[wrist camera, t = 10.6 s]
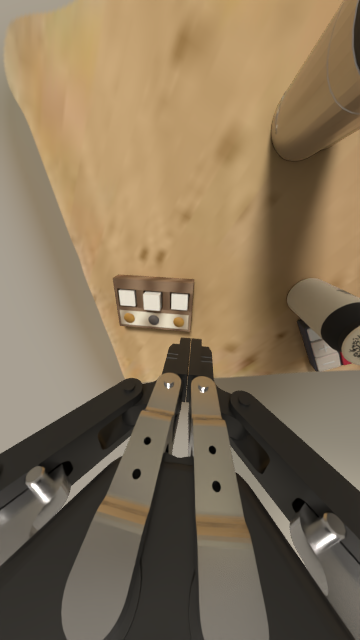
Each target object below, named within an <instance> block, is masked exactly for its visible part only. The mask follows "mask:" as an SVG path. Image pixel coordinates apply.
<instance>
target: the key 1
mask: <svg viewBox="0 0 360 640" xmlns="http://www.w3.org/2000/svg"><path fill="white" fill-rule="evenodd" d="M119 298H120V305H124V306H136V305H137V296H136V290H132V289H120V290H119Z"/></svg>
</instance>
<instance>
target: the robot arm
mask: <svg viewBox="0 0 360 640" xmlns="http://www.w3.org/2000/svg"><path fill="white" fill-rule="evenodd" d="M359 129H360V0H344V1H343V2H342V4H341V5H340V7H339V8H338V10H337V12H336V13H335V15H334V16H333V18H332V19H331V21H330V23H329V24H328V26H327V27H326V29H325V31H324V32H323V34H322V35H321V37H320V38H319V40H318V42H317V43H316V45H315V46H314V48H313V50H312V51H311V53H310V54H309V56H308V57H307V59H306V61H305V62H304V64H303V65H302V67H301V69H300V70H299V72H298V73H297V75H296V76H295V78H294V80H293V81H292V83H291V84H290V86H289V88H288V89H287V91H286V92H285V93H284V95H283V97H282V99H281V101H280V102H279V104H278V106H277V109H276V111H275V114H274V118H273V121H272V129H271V132H272V141H273V146H274V148H275V150H276V152H277V153H278V154H279V155H280V156H281V157H282V158H284V159H286V160H289V161H299V160H303V159H306V158H308V157H310V156H312V155H313V154H315V153H316V152H318V151H320V150H321V149H327V148H329V147H331V146H332V145H334V144H336V143H337V142H339V141H341V140H342V139H344V138H346V137H347V136H349V135H351V134H352V133H354V132H356V131H357V130H359ZM190 343H191V351H190ZM189 356H190V361H189ZM188 367H189V372H188ZM187 377H188V385H187ZM186 386H187V397H186ZM185 397H186V402H189V413H188V443H189V444H188V445H189V446H188V457H183V458H177V457H175V456H173V455H172V450H173V444H174V439H175V433H176V429H177V424H178V419H179V414H180V410H181V403H182V402H185ZM128 437H130V439H129V441H128V444H127V446H126V449H125V451H124V454H123V456H121V457H119V458H118V459H116V460H115V461H113V462H112V463H110V464H109V465H108V466H107V467H106V468H105V469H104V470H103V471H102V472H100V473H99V474H98V475H97V476H96V477H95V478H94V479H93V480H92V481H91V482H90V483H89V484H88V485H87V486H86V487H84V488H83V489H82V490H81V491H80V492H79V493H78V494H77V495H76V496H75V497H74V498H73V499H72V500H71V501H69V502H68V503H67V504H66V505H65V506H64V507H63V508H62V506H63V505H64V503H65V502H66V500H67V498H68V496H69V493H70V488H71V486H72V485H73V484H74V483H75V482H76V481H77V480H79V479H80V478H81V477H82V476H83V475H84V474H86V473H87V472H88V471H89V470H91V469H92V468H93V467H94V466H95V465H96V464H98V463H99V462H100V461H101V460H102V459H104V458H105V457H106V456H107V455H108V454H110V453H111V452H112V451H113V450H114V449H115V448H117V447H118V446H119V445H120V444H121V443H123V442H124V441H125V440H126V439H127V438H128ZM230 445H231V447H232V448H233V449H234V451H235V452H236V453H237V454H238V456H239V457H240V458H241V459H242V461H243V462H244V463H245V465H246V466H247V467H248V469H249V470H250V471H251V472H252V474H253V475H254V476H255V478H256V479H257V480H258V482H259V483H260V484H261V485H262V487H263V488H264V489H265V491H266V492H267V493H268V494H269V496H270V497H271V498H272V500H273V501H274V502H275V503H276V505H277V506H278V507H279V508H280V510H281V511H282V512H283V514H284V515H285V516H286V518H287V519H288V520H289V521H290V533H291V538H292V541H293V544H294V546H295V548H296V550H297V552H298V553H299V555H300V557H301V558H302V560H303V561H304V563H305V565H304V564H303V563H302V561H301V560H300V558H299V557H298V555H297V554H296V553H295V551H294V550H293V548H292V547H291V545H290V544H289V543H288V541H287V540H286V538H285V537H284V535H283V534H282V532H281V531H280V529H279V528H278V527H277V525H276V524H275V522H274V521H273V519H272V518H271V516H270V515H269V513H268V512H267V511H266V509H265V508H264V506H263V505H262V503H261V502H260V500H259V499H258V498H257V496H256V495H255V493H254V492H253V490H252V489H251V488H250V486H249V485H248V484H247V483H246V481H244V479H243V478H242V477H241V476H240V475H239V474H237V473H236V472H235V468H234V463H233V458H232V452H231V447H230ZM61 508H62V509H61ZM60 509H61V510H60ZM59 510H60V511H59ZM58 511H59V512H58ZM57 512H58V513H57ZM56 513H57V514H56ZM305 566H306V567H305ZM0 640H360V491H359V490H357V489H356V488H355V487H354V486H353V485H352V484H351V483H350V482H349V481H347V480H346V479H345V478H344V477H343V476H342V475H341V474H340V473H339V472H337V471H336V470H335V469H334V468H333V467H332V466H331V465H330V464H328V463H327V462H326V461H325V460H324V459H323V458H322V457H321V456H319V455H318V454H317V453H316V452H315V451H314V450H313V449H312V448H311V447H309V446H308V445H307V444H306V443H305V442H303V440H302V439H301V438H299V437H298V436H297V435H296V434H295V433H294V432H293V431H292V430H290V429H289V428H288V427H287V426H286V425H285V424H284V423H282V422H281V421H280V420H279V419H278V418H277V417H276V416H275V415H274V414H273V413H271V412H270V411H269V410H268V409H267V408H266V407H265V406H264V405H262V404H261V403H260V402H259V401H258V400H257V399H256V398H255V397H253V396H252V395H251V394H249V393H247V392H245V391H235V392H233V393H232V394H230V393H228V392H225V391H223V390H221V389H220V388H218V387H217V385H216V384H215V382H214V378H213V364H212V352H211V350H210V349H209V347H204V346H202V339H192V340H191V338H181V340H180V344H172V345H171V346H170V347H169V350H168V354H167V358H166V361H165V365H164V369H163V372H162V375H161V376H159V378H158V379H157V380H156V381H154V382H152V383H146V384H142V383H141V381H140V380H138V379H135V378H129V379H125V380H123V381H122V382H120V383H118V384H117V385H115V386H114V387H112V388H110V389H108V390H106V391H105V392H103V393H102V394H100V395H98V396H96V397H95V398H93V399H91V400H90V401H88V402H86V403H85V404H83V405H82V406H80V407H78V408H76V409H75V410H73V411H71V412H70V413H68V414H66V415H65V416H63V417H61V418H60V419H58V420H57V421H55V422H53V423H51V424H50V425H48V426H46V427H45V428H43V429H41V430H40V431H38V432H36V433H35V434H33V435H31V436H30V437H28V438H26V439H24V440H23V441H21V442H19V443H18V444H16V445H15V446H13V447H11V448H9V449H8V450H6V451H4V452H3V453H1V454H0Z"/></svg>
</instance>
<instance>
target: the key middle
mask: <svg viewBox="0 0 360 640" xmlns="http://www.w3.org/2000/svg"><path fill="white" fill-rule="evenodd" d="M143 303H144V310H155V311H160V309H161V307H162V292H158V291H145V293H144V294H143Z"/></svg>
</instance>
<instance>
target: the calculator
mask: <svg viewBox="0 0 360 640" xmlns="http://www.w3.org/2000/svg"><path fill="white" fill-rule="evenodd" d="M297 323H298V326H299V329H300V333H301V335H302V338H303V341H304V345H305V348H306V352H307V355H308V358H309V361H310V364H311V365H312V367H313V368H314V369H315V371H324V370H328V369H332V368H336V367H339V366H341V365H347V364H351V362H349V361H347V360H346V359H345V358H344V356H343V354H342V352H338V351H336V350H334V349H332V348H331V347H330V346H329V345H328V344H327V343H326V342H325V341H324V340H323V339H322V338H321V337H320V336H318V335H317V334H316V333H315V332H314V331H313V330H312V329H311V328H310V327H309V326H308V325H307V324H306V323H305V322H304V321H303V320H302V319H299V320H298V321H297Z"/></svg>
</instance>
